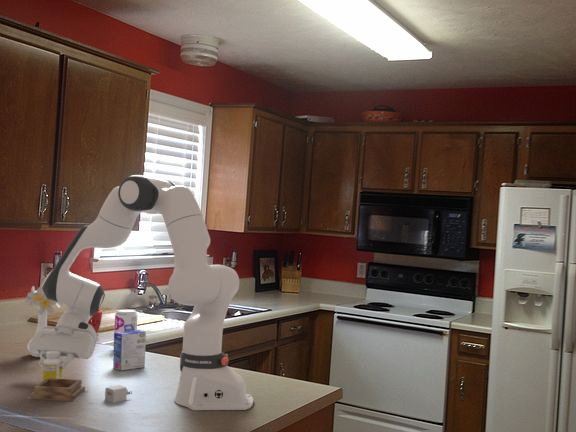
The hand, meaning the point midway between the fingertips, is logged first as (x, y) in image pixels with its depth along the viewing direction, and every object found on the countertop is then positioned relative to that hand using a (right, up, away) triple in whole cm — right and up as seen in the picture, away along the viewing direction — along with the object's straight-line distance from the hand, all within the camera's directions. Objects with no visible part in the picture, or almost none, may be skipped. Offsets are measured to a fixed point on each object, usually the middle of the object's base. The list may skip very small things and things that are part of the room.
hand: (51, 366), depth 207 cm
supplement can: (+9, -6, +54) cm, 55 cm away
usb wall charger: (+24, -7, -13) cm, 28 cm away
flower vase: (-16, -5, +38) cm, 41 cm away
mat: (+6, -6, -11) cm, 14 cm away
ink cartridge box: (+17, -6, +27) cm, 32 cm away
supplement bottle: (0, -6, +1) cm, 6 cm away
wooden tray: (+6, -5, -11) cm, 14 cm away
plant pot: (-12, -5, +72) cm, 73 cm away
